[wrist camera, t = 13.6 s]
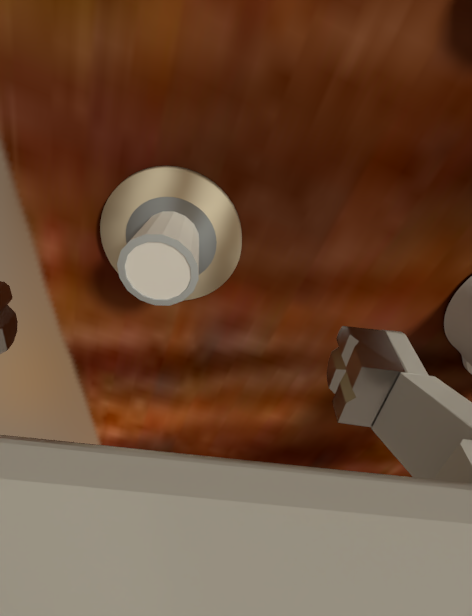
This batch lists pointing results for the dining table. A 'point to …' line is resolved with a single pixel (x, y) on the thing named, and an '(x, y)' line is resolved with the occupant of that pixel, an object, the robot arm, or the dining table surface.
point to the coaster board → (184, 200)
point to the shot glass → (161, 260)
